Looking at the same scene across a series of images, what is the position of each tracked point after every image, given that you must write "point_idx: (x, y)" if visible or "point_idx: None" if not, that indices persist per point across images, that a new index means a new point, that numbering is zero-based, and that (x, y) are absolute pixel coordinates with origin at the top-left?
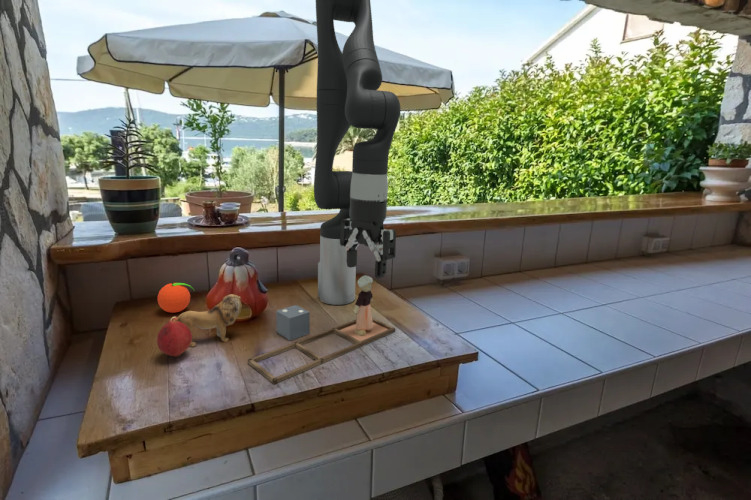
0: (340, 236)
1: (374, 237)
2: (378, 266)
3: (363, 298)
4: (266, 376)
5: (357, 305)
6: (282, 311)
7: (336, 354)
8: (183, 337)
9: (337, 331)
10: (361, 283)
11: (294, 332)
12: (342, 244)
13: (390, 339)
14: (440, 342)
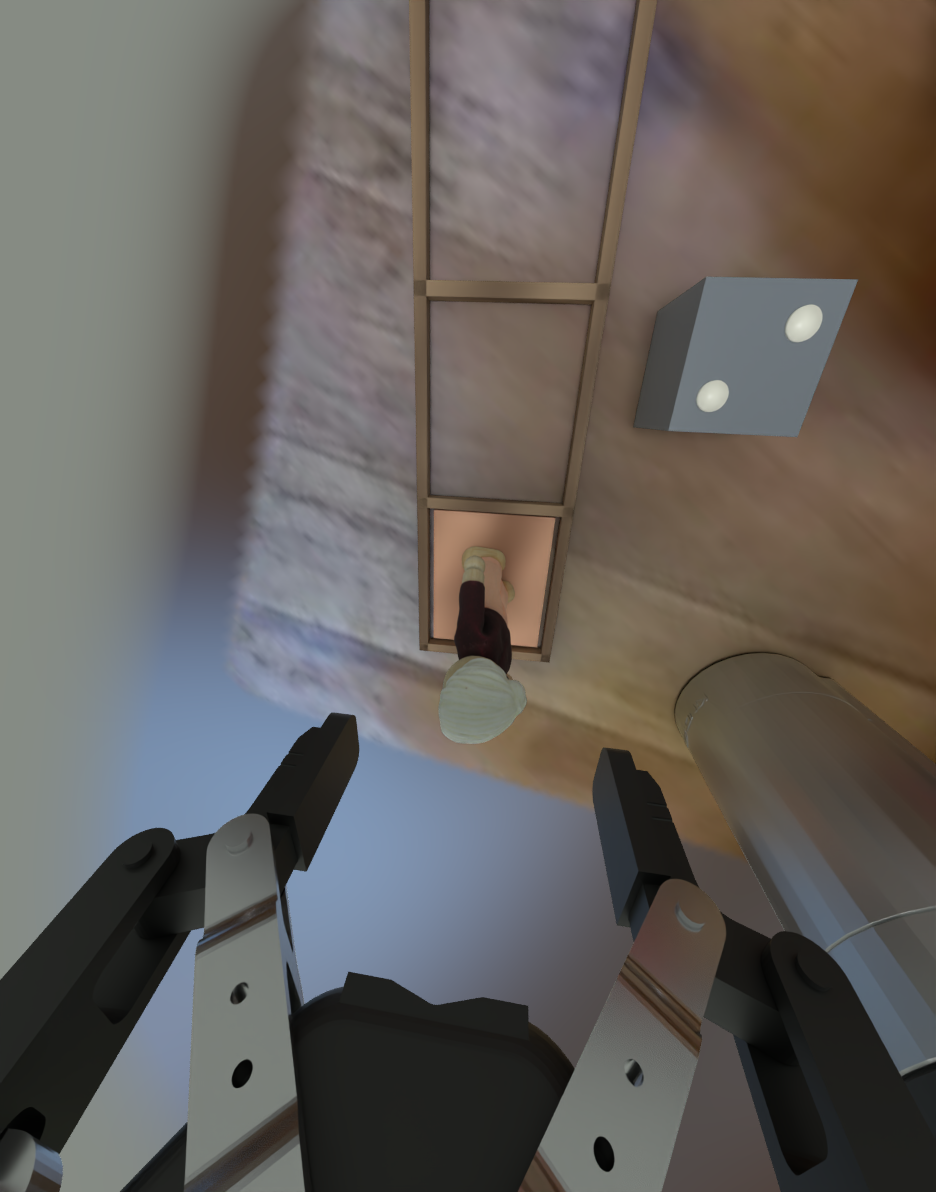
0: (912, 1106)
1: (139, 1187)
2: (291, 780)
3: (457, 625)
4: None
5: (464, 582)
6: (811, 304)
7: (416, 372)
8: None
9: (541, 504)
10: (467, 671)
11: (662, 334)
12: (784, 951)
13: (395, 598)
14: (300, 671)
